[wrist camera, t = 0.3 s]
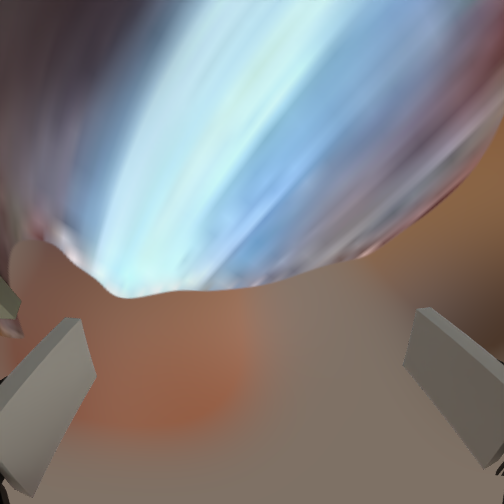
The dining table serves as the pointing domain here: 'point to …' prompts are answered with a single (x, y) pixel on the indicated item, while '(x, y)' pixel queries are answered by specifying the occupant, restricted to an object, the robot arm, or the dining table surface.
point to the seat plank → (8, 301)
